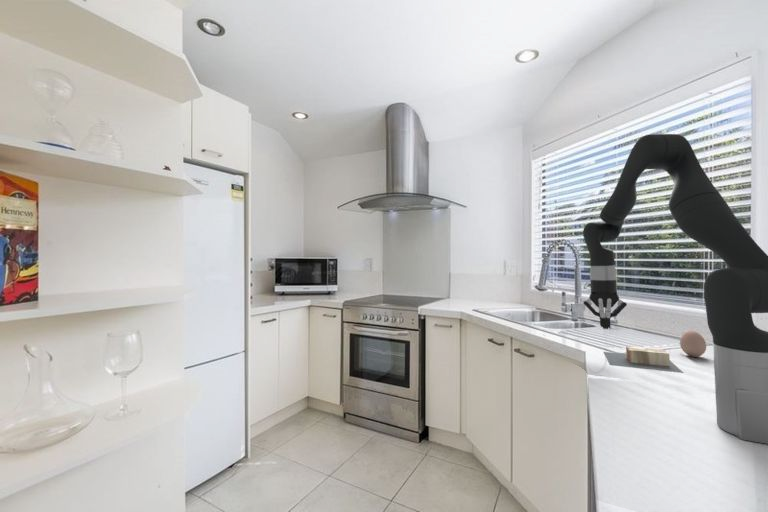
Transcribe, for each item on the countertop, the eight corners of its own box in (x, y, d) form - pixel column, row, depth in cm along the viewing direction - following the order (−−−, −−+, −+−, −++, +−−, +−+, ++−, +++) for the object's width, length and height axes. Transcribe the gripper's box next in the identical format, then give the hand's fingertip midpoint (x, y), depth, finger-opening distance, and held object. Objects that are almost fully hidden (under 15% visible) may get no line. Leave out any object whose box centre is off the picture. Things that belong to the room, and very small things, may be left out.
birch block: (629, 362, 104) (669, 366, 99) (629, 350, 104) (669, 353, 99) (626, 357, 109) (665, 361, 104) (626, 346, 109) (664, 349, 104)
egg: (712, 359, 106) (710, 332, 107) (688, 359, 108) (687, 332, 108) (697, 354, 113) (696, 328, 113) (675, 353, 114) (674, 328, 114)
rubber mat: (683, 375, 94) (683, 372, 94) (610, 367, 102) (609, 364, 102) (667, 359, 108) (666, 357, 108) (603, 353, 116) (603, 351, 116)
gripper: (581, 279, 110) (583, 329, 109) (628, 279, 103) (631, 332, 103) (580, 278, 116) (582, 325, 116) (624, 278, 110) (626, 327, 109)
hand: (605, 328), depth 109 cm, fingers closed
